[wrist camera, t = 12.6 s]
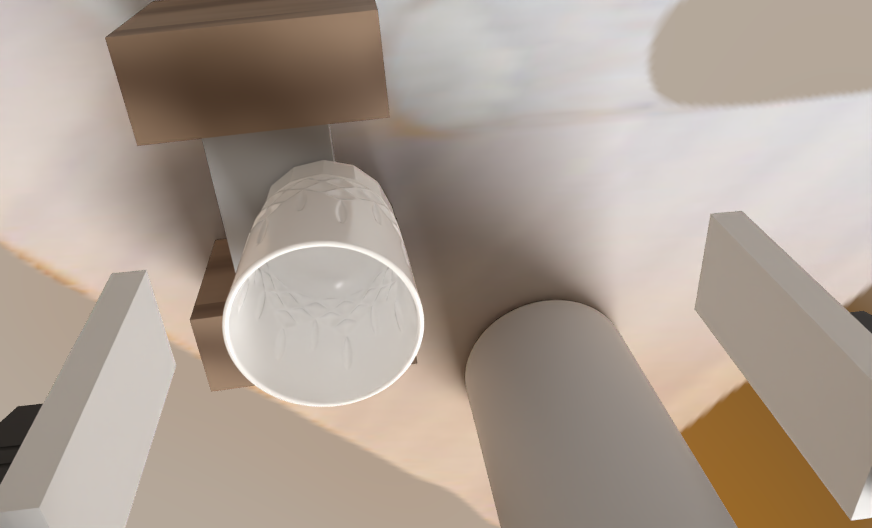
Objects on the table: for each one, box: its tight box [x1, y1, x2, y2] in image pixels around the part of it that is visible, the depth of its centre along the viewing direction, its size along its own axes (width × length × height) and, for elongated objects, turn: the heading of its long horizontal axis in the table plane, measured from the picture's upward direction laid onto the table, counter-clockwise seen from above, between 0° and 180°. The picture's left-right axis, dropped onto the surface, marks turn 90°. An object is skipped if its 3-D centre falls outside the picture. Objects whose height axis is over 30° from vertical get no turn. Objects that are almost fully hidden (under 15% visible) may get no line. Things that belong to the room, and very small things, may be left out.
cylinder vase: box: [465, 300, 737, 528], centre depth 45 cm, size 12×12×25 cm
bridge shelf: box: [105, 0, 417, 391], centre depth 41 cm, size 20×12×10 cm, turn 5°
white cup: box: [222, 160, 424, 407], centre depth 32 cm, size 8×8×10 cm
